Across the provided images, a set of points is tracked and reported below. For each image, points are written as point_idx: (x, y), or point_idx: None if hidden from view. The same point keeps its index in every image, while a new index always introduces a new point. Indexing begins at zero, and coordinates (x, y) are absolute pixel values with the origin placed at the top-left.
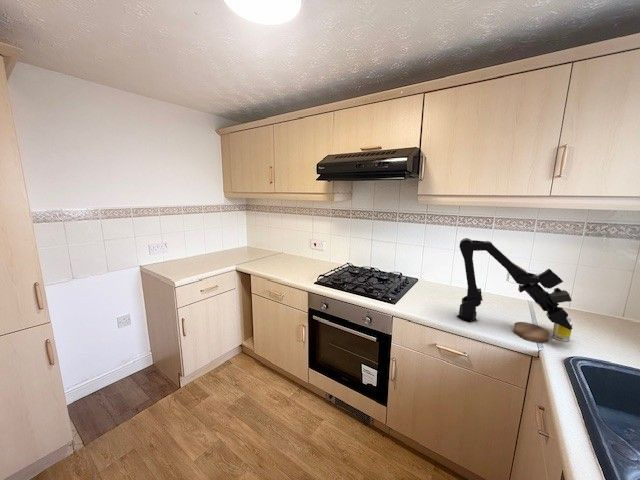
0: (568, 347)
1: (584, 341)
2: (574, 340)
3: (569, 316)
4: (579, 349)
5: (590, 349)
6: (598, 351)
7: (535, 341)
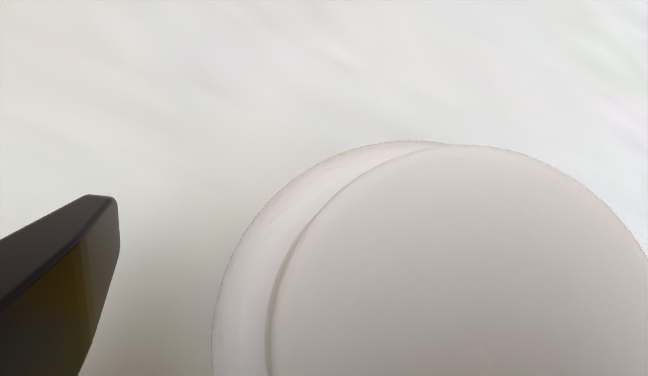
0: None
1: (309, 37)
2: None
3: (446, 173)
4: None
5: (530, 70)
6: (539, 3)
7: None
